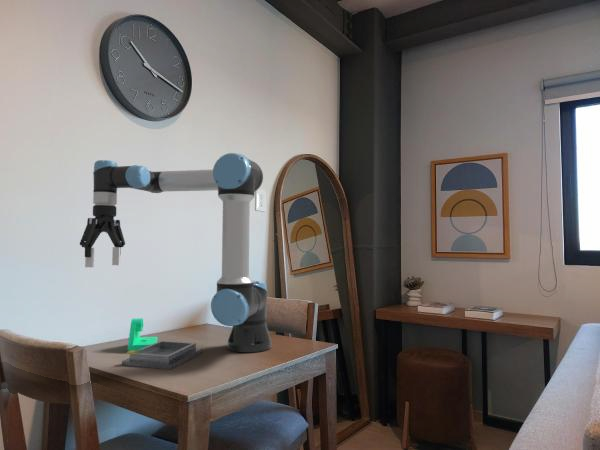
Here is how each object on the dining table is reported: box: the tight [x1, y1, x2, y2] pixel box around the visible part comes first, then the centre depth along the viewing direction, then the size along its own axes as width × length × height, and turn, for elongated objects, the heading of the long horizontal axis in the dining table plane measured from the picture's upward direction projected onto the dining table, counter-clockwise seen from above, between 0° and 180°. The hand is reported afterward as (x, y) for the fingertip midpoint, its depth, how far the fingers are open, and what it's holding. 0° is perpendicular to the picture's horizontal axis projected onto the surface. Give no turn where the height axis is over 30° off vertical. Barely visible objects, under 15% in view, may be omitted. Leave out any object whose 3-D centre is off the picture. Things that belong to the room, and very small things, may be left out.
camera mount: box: [127, 318, 158, 351], centre depth 148 cm, size 12×8×10 cm, turn 9°
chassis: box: [121, 340, 203, 370], centre depth 135 cm, size 16×20×4 cm
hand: (103, 266), depth 149 cm, fingers open, 13 cm apart
